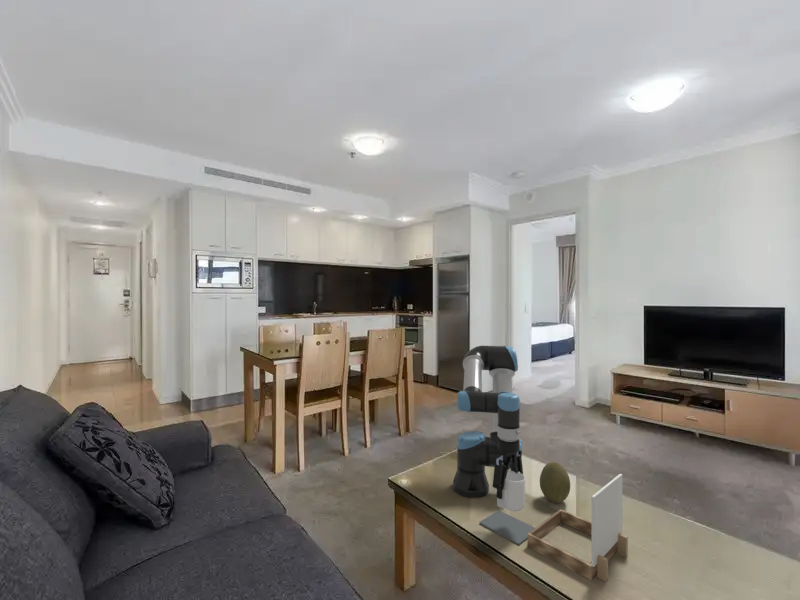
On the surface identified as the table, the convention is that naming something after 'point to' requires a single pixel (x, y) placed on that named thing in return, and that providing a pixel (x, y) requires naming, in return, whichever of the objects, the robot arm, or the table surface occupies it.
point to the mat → (507, 527)
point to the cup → (514, 491)
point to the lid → (607, 525)
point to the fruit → (555, 482)
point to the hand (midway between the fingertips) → (508, 502)
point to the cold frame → (560, 555)
